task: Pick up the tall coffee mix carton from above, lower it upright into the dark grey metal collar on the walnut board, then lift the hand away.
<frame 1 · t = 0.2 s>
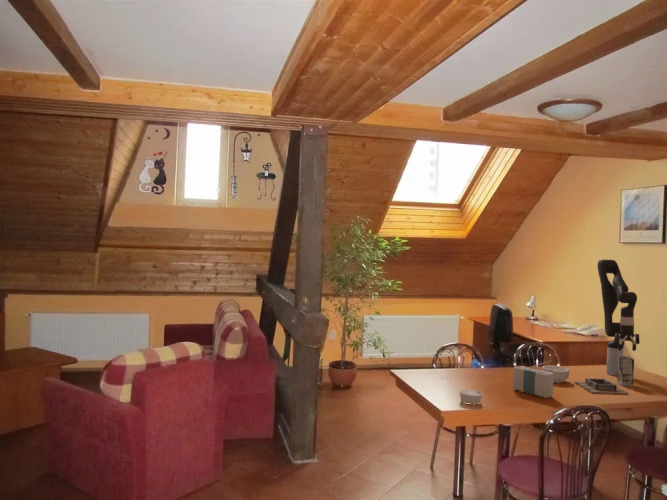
hand: (626, 350, 330), 18 cm above the table, tool pointing down, fingers open, 8 cm apart
stereo radio cassette player: (533, 394, 293), on the table
coffee box: (625, 385, 319), on the table
collar board: (600, 388, 308), on the table
paper bowls: (554, 381, 323), on the table
ramekin: (470, 403, 274), on the table
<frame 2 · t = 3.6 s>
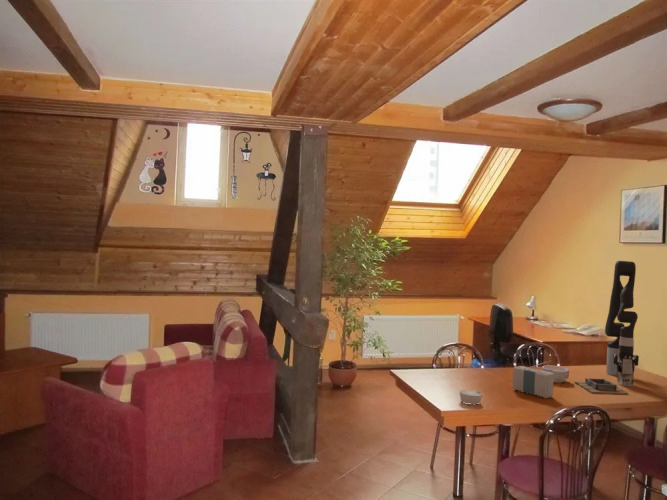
hand: (625, 372, 318), 7 cm above the table, tool pointing down, fingers closed on coffee box, 7 cm apart
coffee box: (625, 384, 319), on the table, touching gripper
everything else where it was.
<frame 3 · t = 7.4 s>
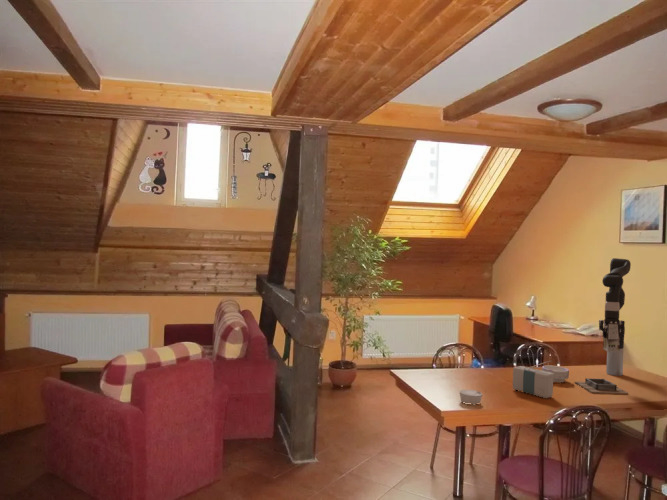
hand: (611, 338, 310), 29 cm above the table, tool pointing down, fingers closed on coffee box, 7 cm apart
coffee box: (611, 351, 310), point 21 cm above the table, touching gripper
everything else where it was.
when the fingers open (10 cm above the table, at t = 11.2 s): coffee box drops 1 cm, resting on collar board.
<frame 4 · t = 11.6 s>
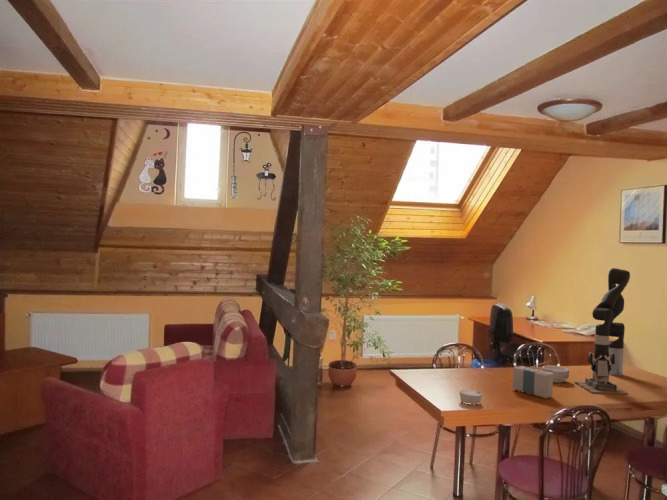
hand: (600, 371, 308), 10 cm above the table, tool pointing down, fingers open, 8 cm apart
coffee box: (600, 387, 308), point 1 cm above the table, touching collar board
everything else where it was.
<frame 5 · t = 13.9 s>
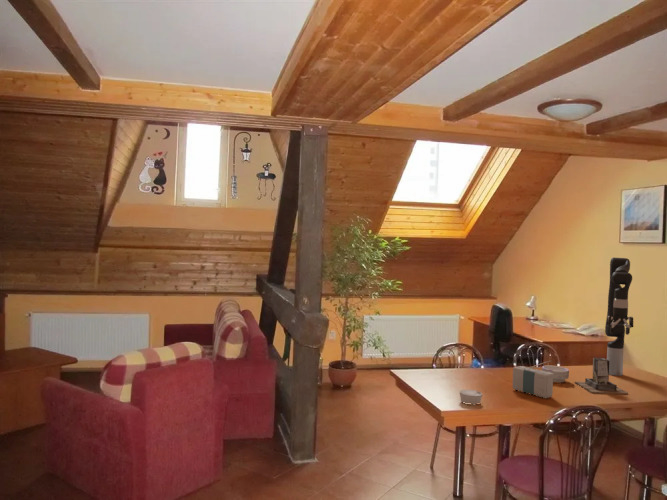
hand: (619, 334, 312), 31 cm above the table, tool pointing down, fingers open, 8 cm apart
nothing on the table moved.
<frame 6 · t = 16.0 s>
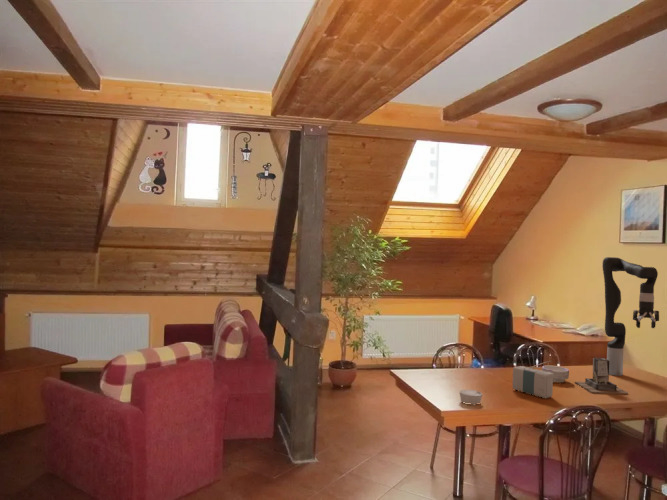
hand: (645, 327, 318), 34 cm above the table, tool pointing down, fingers open, 8 cm apart
nothing on the table moved.
at the end: coffee box 0.1 cm off-centre on the collar board, point 0.8 cm above the collar board's base; coffee box tilted 0°; the gripper is holding nothing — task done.
